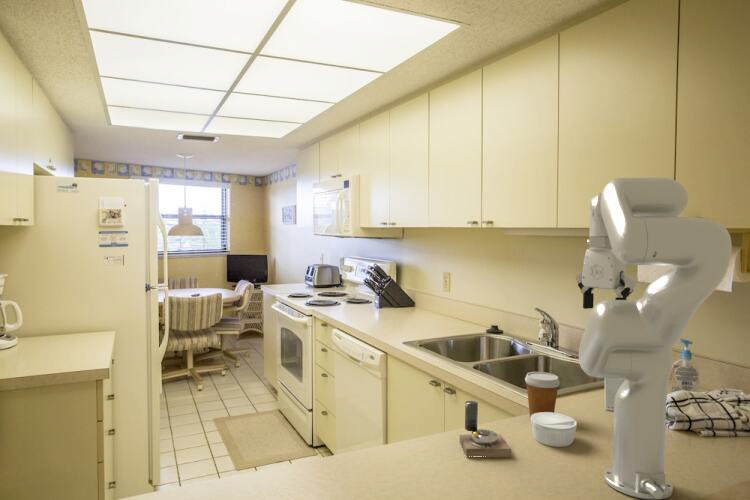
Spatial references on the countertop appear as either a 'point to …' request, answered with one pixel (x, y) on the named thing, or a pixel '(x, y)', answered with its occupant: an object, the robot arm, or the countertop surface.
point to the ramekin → (553, 429)
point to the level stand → (485, 447)
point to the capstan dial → (471, 425)
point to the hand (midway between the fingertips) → (603, 310)
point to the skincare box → (611, 391)
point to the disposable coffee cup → (541, 391)
